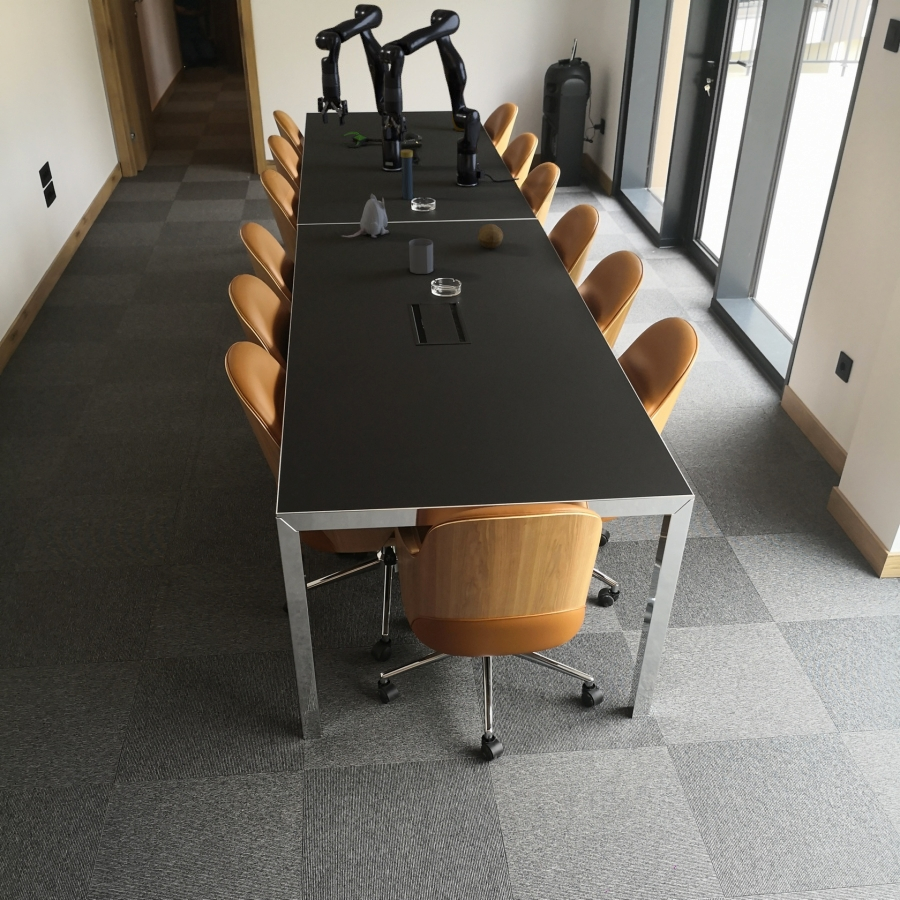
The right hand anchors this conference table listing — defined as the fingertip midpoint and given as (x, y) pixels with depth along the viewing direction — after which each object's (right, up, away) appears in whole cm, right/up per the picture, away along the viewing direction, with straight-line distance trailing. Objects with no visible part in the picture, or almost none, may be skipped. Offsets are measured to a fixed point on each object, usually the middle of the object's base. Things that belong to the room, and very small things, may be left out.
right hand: (394, 140), depth 360 cm
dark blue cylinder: (+4, -18, +21) cm, 28 cm away
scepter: (-19, +34, +102) cm, 109 cm away
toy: (-10, -46, -23) cm, 53 cm away
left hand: (-27, +11, +13) cm, 32 cm away
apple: (+29, +52, +131) cm, 144 cm away
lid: (+4, -1, +11) cm, 12 cm away
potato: (+38, -52, -31) cm, 72 cm away
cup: (+13, -65, -52) cm, 84 cm away
